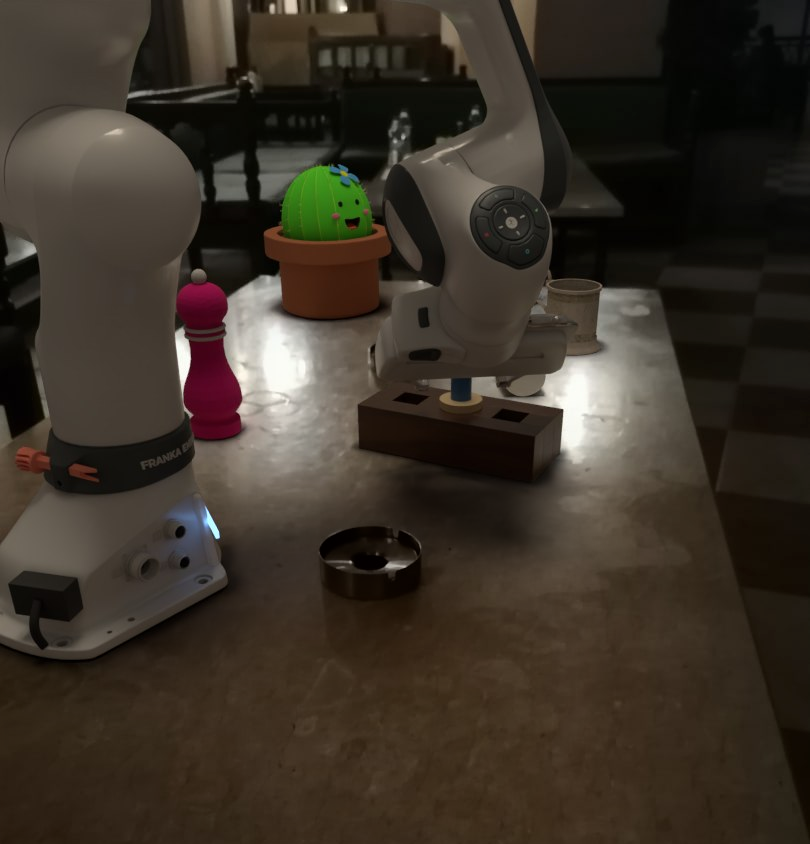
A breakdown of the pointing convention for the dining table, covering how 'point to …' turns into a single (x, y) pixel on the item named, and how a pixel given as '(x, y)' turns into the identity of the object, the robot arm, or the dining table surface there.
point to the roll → (527, 385)
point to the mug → (576, 310)
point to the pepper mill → (208, 361)
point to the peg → (460, 398)
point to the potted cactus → (327, 246)
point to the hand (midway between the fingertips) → (461, 383)
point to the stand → (462, 432)
